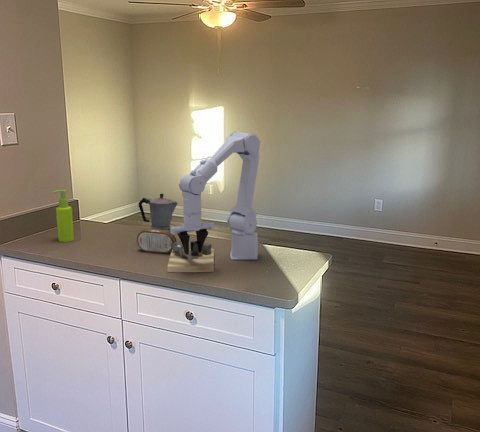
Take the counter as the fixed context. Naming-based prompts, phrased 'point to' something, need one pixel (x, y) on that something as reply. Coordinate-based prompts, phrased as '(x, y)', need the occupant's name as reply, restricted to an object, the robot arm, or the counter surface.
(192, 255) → the lever
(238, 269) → the counter surface
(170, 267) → the light wooden flat block
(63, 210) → the soap dispenser
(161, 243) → the tin
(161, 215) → the moka pot
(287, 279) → the counter surface
